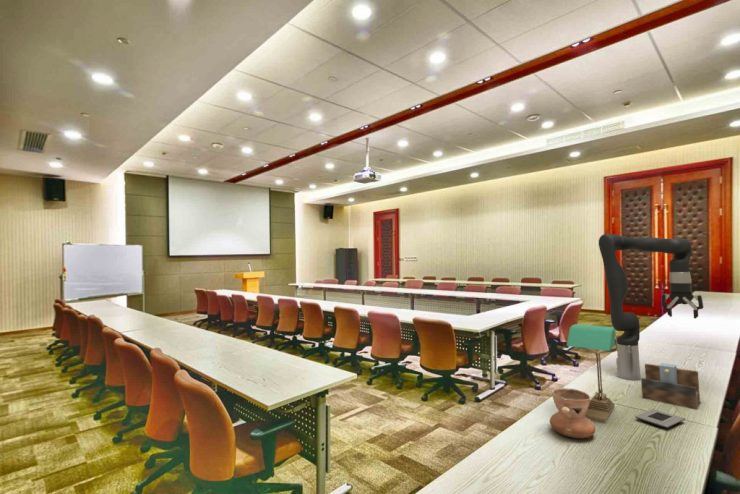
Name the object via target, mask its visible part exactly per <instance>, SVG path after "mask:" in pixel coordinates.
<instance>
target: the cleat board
mask: <svg viewBox="0 0 740 494" xmlns="http://www.w3.org/2000/svg"><path fill="white" fill-rule="evenodd" d="M659 365H660V364H650V363H645V364H644V373H645V377H642V378H641V377H640V378H641V379H640V382H641V395H642V399H645V400H649V401H654V402H659V403H664V404H670V405H673V406H678V407H684V408H687V409H694V410H697V409H699V408H698V407H699V405H700V404H701V398H700V396H701V395H700V384H699V382H700V381H699V380H700V379H699V371H697V370H691V369H685V368H677V367H676V368H677V382H678V384H674V383H668V382H663V381H660V368H659Z"/></svg>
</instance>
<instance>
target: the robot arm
mask: <svg viewBox="0 0 740 494" xmlns="http://www.w3.org/2000/svg"><path fill="white" fill-rule="evenodd" d="M598 248H599V252H600V256H601V258H602V263H603V268H604V272H605V280H606V285H607V291H608V299H609V305H610V306H609V309H610V311H609V312H610V320H611V321H610V322H611V325H612V327H613V328H614V329H615V331H617V332H623V333H622V334H621V335H620V336H616V339H617V346H618V349H617V351H616V353H617V354H616V355H617V358H616V375H617V378H621V379H624V380H629V381H639V380H640V381H641V365H640V364H641V363H640V352H639V351H640V350H639V349H640V348H639V341H640V336H641V335H640V333H641V332H640V327H641V326H640V320H639V318H638V316H637V315H636V314H635V313H633V312H624V311H623V309H624V308H623V303H624V300H625V298H626V295H627V292H628V290H629V283H628V277H627V274H626V272H625V271H626V270H625V269H624V268H623V267H622V265H621V264H620V262H619V261H618V258H617V254H616V252H617V251H618V252H619V251H626V250H627V251H628V250H632V251H638V252H639V251H640V252H649V253H662V254H672V255H673V258H672V259H671V260H669V264H668V266H669V288H670V289H669V290H670V291H669V292H670V293H669V294H667V293H662V294H661V306H662V307H663V308H666V309H667V316H669V317H671V318H672V317H673V310H672V307H673V306H674V305H675V304H677V305H689V306H690V307H691V308H692V309H693V319H698V317H699V310H703V309H704V302H703V296H702V294H697V295H694V294H693V285H692V277H691V270H690V262H691V261H690V260H691V256H692V251H693V249H692V243H691V242H690V240H688V239H686V238H663V237H662V238H661V237H628V236H626V235H625V236H623V235H619V234H616V233H615V234H614V233H603V234H602V235H600V237H599V239H598ZM668 298H670V300H671V301H670V302H669V303H668V304H667V300H668ZM693 299H695V300H696V301H698V303H697V304H698V306H697V305H696V304H695V303H694V302H693V301H692V300H693Z"/></svg>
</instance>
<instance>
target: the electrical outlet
mask: <svg viewBox="0 0 740 494" xmlns="http://www.w3.org/2000/svg"><path fill="white" fill-rule="evenodd" d="M634 418H635V419H637V420H640V421H643V422H645V423H649V424H652V425H655V426H658V427H661V428H664V429H668V428H670V427H672V426H675V425H677V424H679V423H681V422H683V421H685V420H686V418H685V417H683V416H682V417H681V416H680V415H679V416H678V415H675V414H671V413H669V412H665V411H661V410H659V409H655V408H652V409H649V410H646V411H644V412H642V413H639V414H637V415H634Z"/></svg>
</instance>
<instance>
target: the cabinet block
mask: <svg viewBox="0 0 740 494" xmlns="http://www.w3.org/2000/svg"><path fill="white" fill-rule="evenodd" d="M658 365H659V368H660V381H663V382H668V383H674V384H678V382H677V365H676V364H670V363H663V362H661V363H660V364H658Z"/></svg>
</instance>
